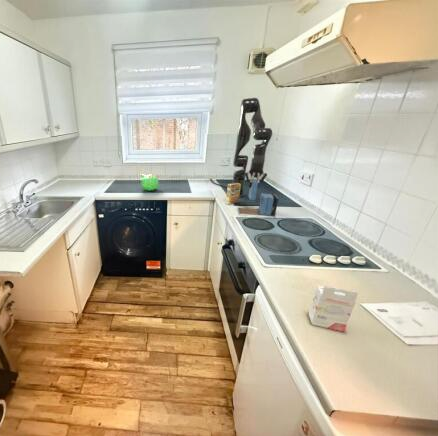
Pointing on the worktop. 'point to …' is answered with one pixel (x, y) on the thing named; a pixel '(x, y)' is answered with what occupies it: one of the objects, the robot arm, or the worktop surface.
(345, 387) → the worktop surface
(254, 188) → the blue book
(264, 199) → the shelved book
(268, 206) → the shelved book
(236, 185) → the candy box
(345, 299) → the ink cartridge box
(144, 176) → the green rounded lump
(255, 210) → the book rack
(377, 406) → the worktop surface
